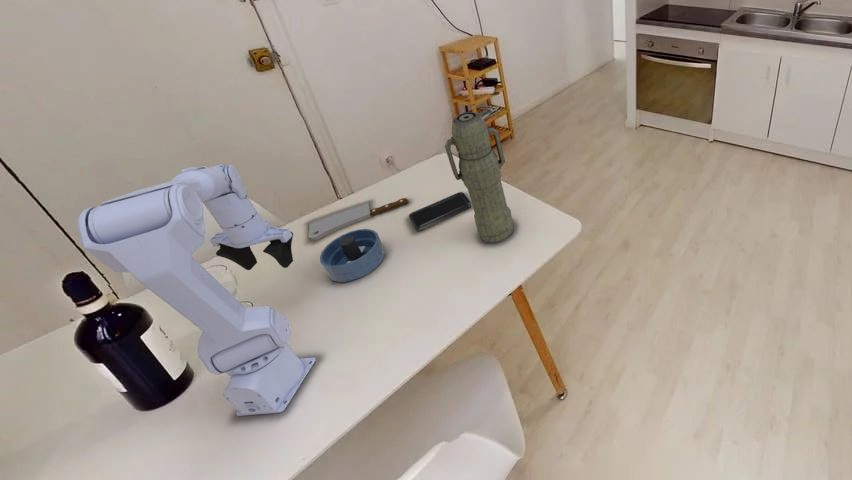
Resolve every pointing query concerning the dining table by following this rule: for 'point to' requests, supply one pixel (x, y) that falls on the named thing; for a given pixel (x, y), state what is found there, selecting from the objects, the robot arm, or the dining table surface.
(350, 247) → the blade unit
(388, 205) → the kitchen cleaver
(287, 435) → the dining table surface
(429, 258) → the dining table surface
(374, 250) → the blue round bowl
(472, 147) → the thermos
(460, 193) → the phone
